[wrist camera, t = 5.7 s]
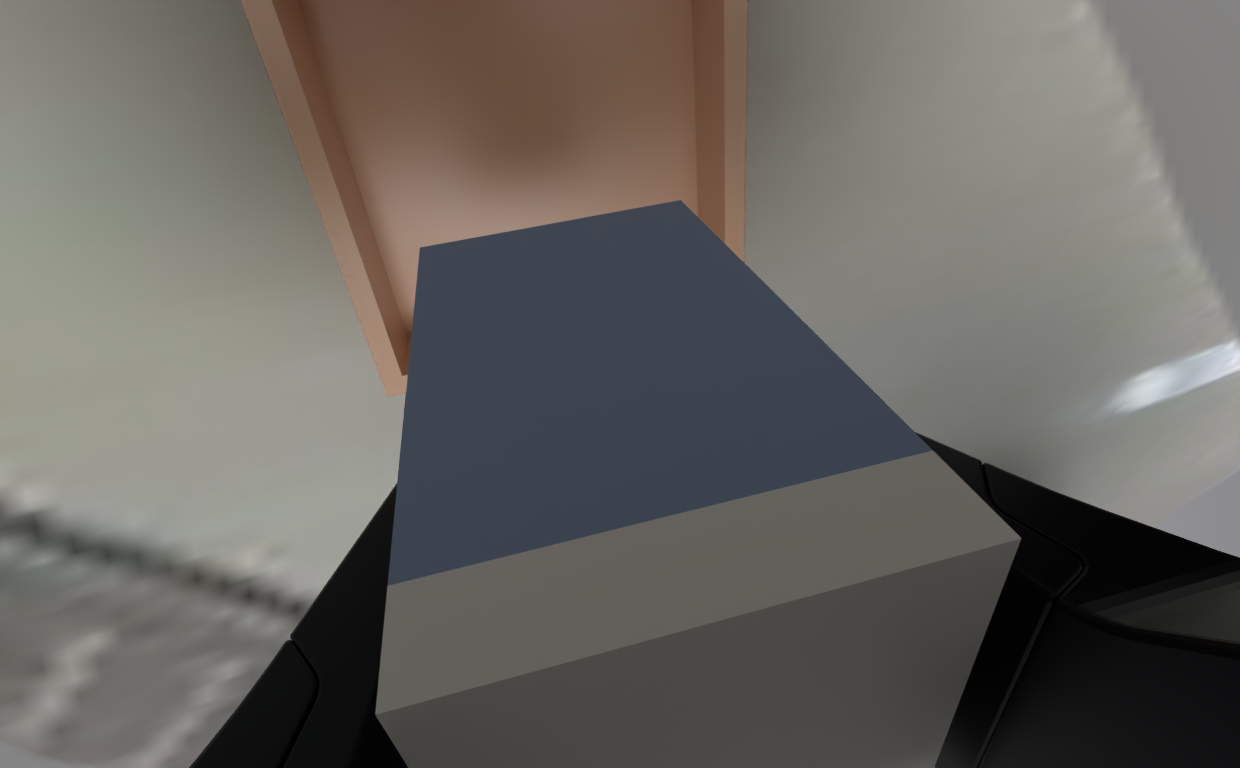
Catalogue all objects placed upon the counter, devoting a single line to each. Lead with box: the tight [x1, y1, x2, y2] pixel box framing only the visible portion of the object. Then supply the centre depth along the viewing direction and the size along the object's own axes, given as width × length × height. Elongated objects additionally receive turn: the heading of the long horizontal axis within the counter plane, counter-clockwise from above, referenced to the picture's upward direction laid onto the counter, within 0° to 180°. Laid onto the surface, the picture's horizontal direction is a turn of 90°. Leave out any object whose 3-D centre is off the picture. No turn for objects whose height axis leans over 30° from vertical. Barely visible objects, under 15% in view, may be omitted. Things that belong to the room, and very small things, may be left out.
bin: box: [241, 0, 748, 397], centre depth 18 cm, size 11×11×3 cm
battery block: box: [375, 200, 1021, 768], centre depth 9 cm, size 4×4×8 cm
